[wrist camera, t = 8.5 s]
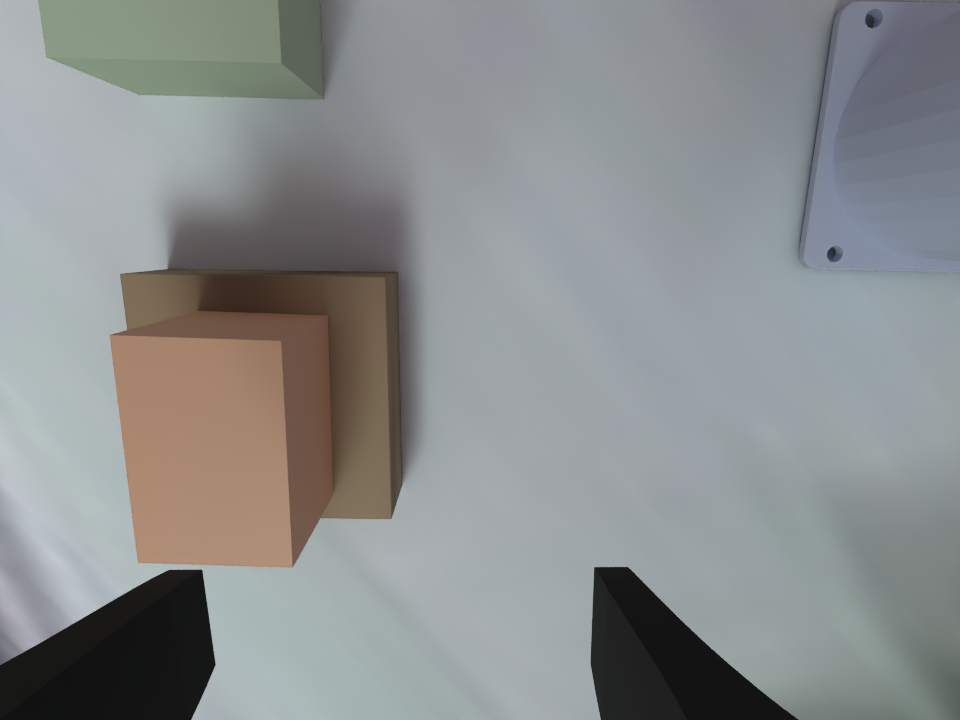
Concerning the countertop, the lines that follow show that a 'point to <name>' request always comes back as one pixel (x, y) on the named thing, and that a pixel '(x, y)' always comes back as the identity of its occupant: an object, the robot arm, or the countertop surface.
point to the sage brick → (191, 45)
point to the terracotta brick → (225, 435)
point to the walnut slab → (352, 359)
